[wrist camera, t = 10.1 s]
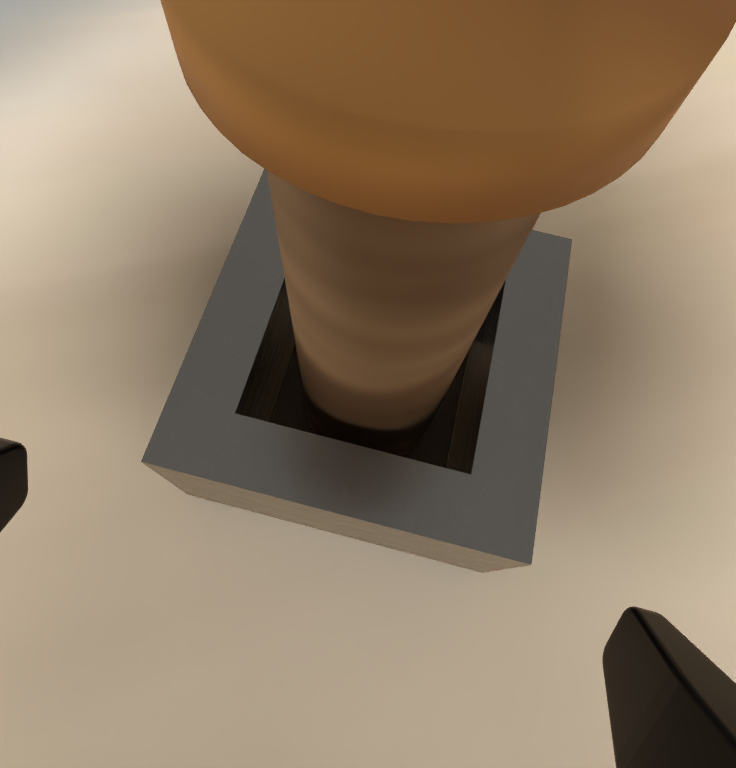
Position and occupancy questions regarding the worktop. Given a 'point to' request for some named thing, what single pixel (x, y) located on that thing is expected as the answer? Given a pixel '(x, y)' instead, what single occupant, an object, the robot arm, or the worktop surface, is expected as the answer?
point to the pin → (426, 161)
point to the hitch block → (357, 463)
